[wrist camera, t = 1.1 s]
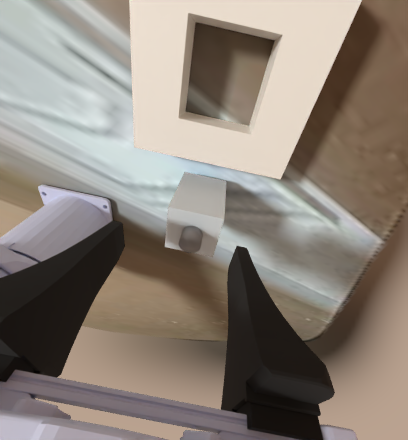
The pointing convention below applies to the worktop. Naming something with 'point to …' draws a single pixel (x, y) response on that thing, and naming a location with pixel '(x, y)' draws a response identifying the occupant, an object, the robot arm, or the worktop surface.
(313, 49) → the socket box
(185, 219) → the plug
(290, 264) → the worktop surface
